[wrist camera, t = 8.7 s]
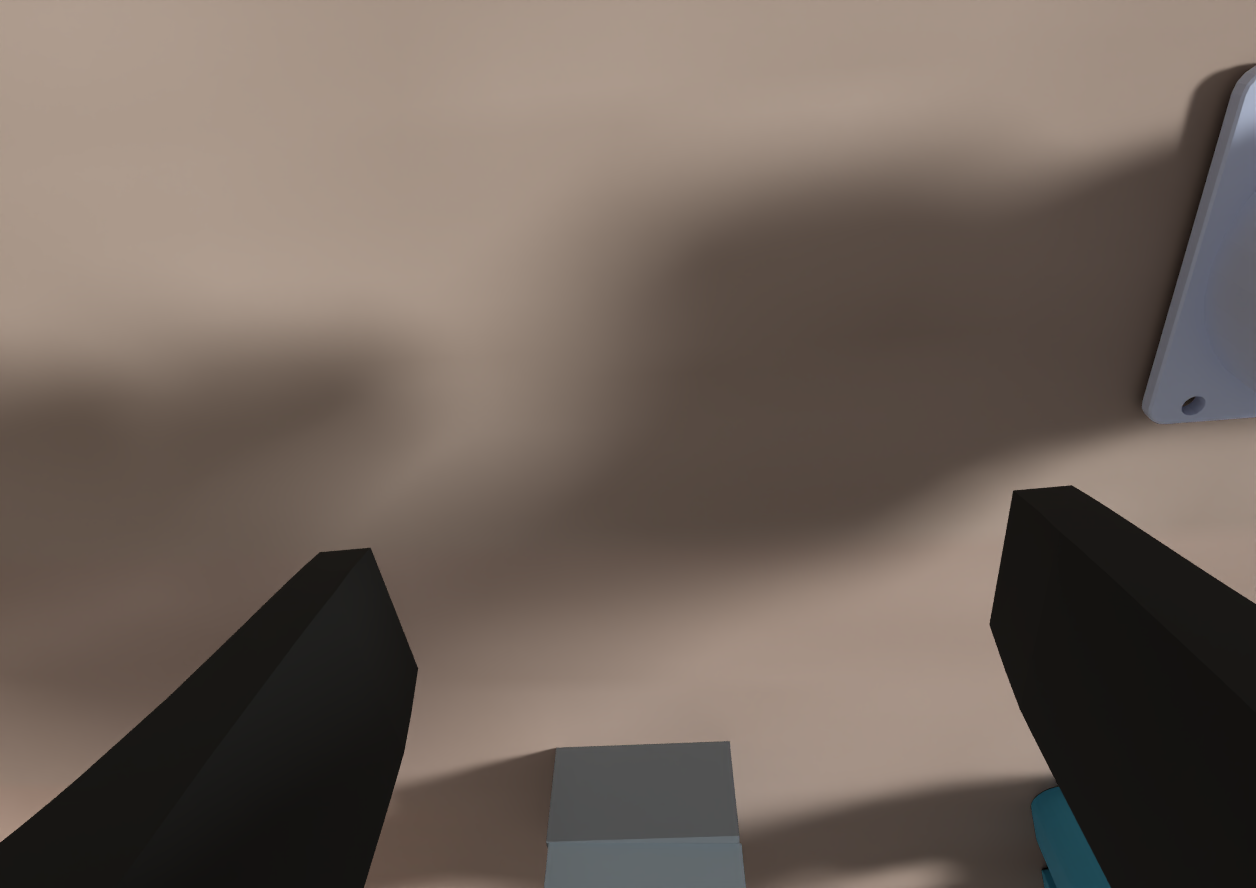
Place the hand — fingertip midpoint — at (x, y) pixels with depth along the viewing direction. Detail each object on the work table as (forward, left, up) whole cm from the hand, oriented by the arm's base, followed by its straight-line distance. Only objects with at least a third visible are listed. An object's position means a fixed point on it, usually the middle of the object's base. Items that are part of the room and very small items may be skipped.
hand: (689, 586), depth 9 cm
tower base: (+2, +20, -11) cm, 23 cm away
